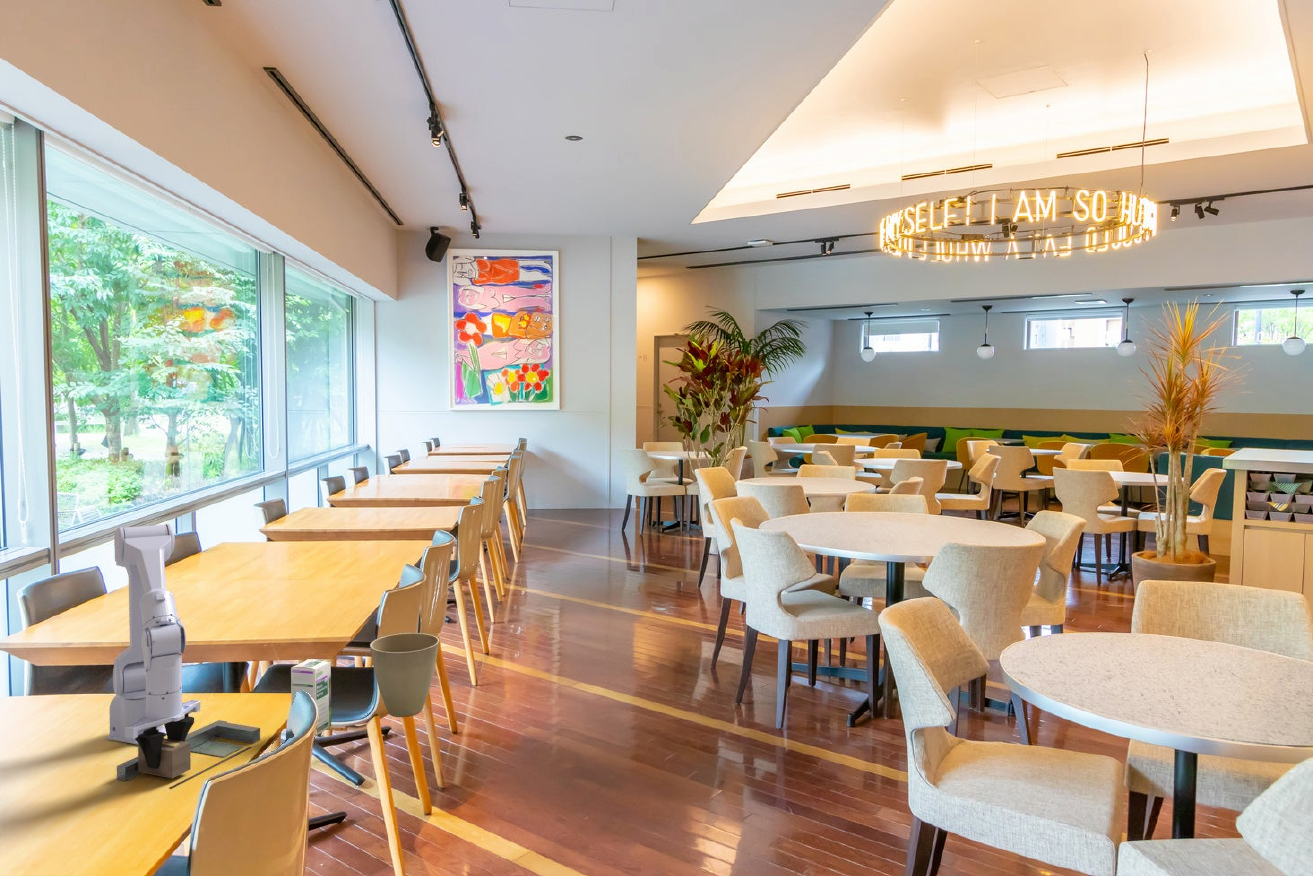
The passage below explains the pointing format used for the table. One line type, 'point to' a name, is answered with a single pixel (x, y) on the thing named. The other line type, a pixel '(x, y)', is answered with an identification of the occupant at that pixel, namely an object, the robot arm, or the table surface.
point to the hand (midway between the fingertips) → (164, 762)
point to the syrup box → (314, 687)
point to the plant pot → (404, 670)
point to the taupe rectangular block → (168, 759)
